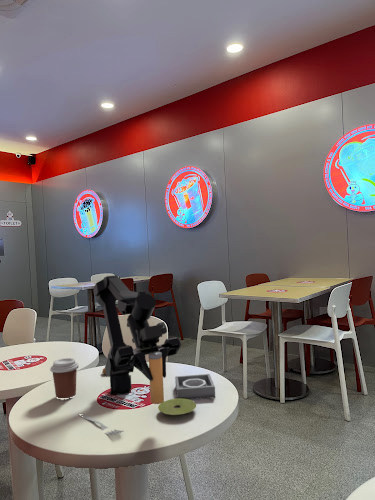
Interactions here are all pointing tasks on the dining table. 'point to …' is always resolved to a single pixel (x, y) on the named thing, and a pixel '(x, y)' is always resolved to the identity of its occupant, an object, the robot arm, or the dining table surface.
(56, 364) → the coffee cup
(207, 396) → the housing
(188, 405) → the olive green flat disc
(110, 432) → the fork
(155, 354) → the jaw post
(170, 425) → the dining table surface
